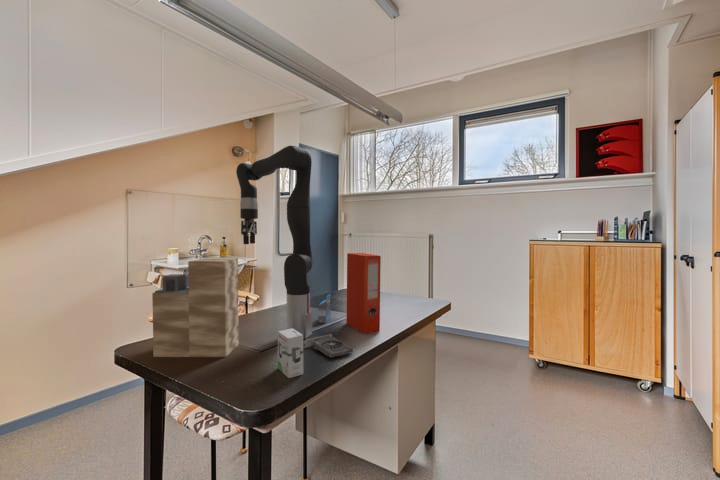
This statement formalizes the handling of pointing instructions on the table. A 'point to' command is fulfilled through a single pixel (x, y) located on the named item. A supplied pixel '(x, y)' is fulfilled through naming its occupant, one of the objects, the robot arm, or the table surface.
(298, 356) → the ink box
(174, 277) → the plug bar
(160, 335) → the stand
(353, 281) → the file binder
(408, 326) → the table surface
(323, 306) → the label tape cartridge
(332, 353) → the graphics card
